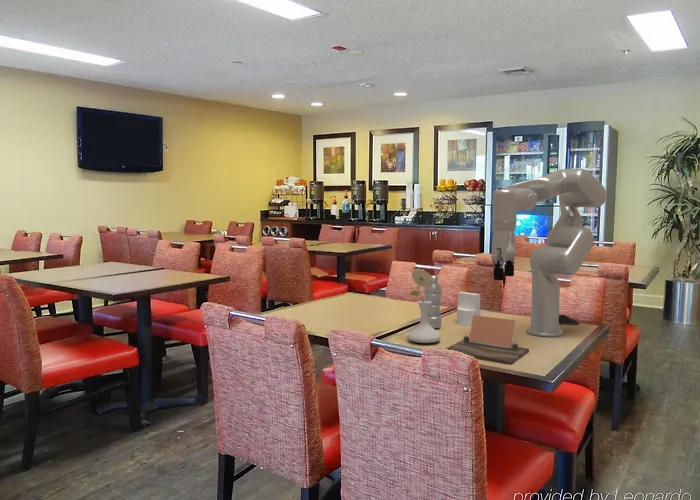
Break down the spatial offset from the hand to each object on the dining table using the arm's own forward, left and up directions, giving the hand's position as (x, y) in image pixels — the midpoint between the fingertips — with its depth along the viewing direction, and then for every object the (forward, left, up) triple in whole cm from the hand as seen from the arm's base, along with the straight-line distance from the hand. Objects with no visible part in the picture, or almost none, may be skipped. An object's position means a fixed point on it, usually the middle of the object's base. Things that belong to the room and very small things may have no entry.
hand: (503, 277), depth 185 cm
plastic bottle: (-7, -30, -23) cm, 38 cm away
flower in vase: (+12, -24, -23) cm, 35 cm away
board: (+13, -1, -22) cm, 26 cm away
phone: (-48, +7, -23) cm, 54 cm away
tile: (+8, -1, -17) cm, 19 cm away
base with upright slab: (-22, -22, -23) cm, 38 cm away
